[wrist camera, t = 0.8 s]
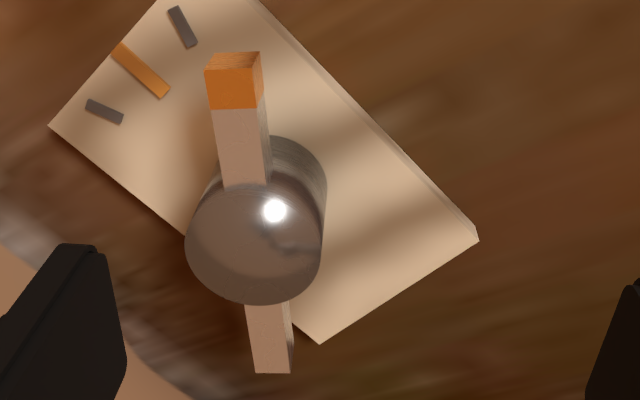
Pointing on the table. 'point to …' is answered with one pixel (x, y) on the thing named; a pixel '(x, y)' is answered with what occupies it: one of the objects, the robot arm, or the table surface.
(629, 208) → the table surface
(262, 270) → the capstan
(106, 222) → the table surface
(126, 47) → the stand
